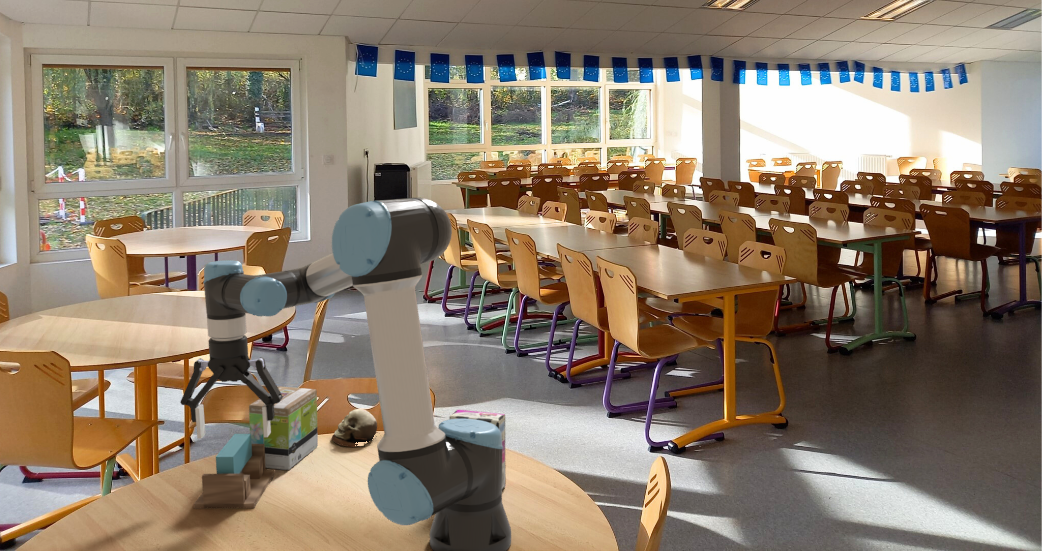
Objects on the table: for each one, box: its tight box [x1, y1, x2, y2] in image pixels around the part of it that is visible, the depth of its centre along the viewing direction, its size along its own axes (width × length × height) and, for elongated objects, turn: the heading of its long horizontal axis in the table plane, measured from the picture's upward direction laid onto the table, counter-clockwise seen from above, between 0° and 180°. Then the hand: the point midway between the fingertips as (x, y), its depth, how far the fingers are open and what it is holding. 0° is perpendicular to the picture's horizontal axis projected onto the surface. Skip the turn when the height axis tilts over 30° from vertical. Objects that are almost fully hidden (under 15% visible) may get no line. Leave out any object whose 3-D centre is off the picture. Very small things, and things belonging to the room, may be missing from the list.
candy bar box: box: [448, 409, 507, 491], centre depth 182 cm, size 11×5×16 cm, turn 73°
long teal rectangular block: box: [215, 433, 252, 474], centre depth 180 cm, size 13×4×5 cm, turn 2°
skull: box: [331, 408, 379, 448], centre depth 211 cm, size 12×10×10 cm
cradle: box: [193, 444, 276, 510], centre depth 180 cm, size 17×12×7 cm
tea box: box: [248, 386, 319, 471], centre depth 198 cm, size 15×10×15 cm, turn 168°
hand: (234, 435), depth 178 cm, fingers open, 13 cm apart
